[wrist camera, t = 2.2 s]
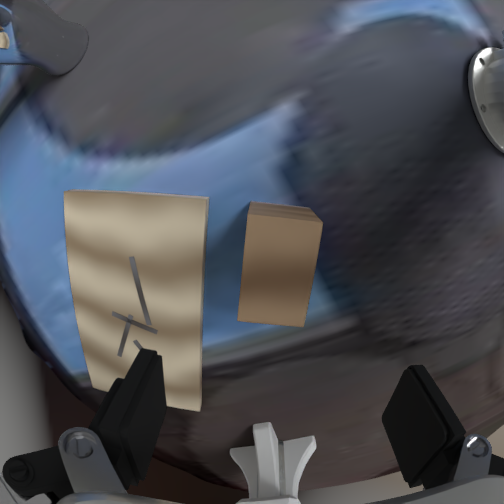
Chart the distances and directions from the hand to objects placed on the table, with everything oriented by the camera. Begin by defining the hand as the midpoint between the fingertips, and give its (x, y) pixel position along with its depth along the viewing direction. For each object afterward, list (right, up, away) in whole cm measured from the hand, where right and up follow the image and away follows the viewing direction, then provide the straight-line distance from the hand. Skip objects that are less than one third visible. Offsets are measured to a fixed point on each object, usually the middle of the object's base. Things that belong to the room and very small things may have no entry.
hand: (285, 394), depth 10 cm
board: (-13, -1, +19) cm, 23 cm away
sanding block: (+1, +5, +16) cm, 17 cm away
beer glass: (-20, +26, +10) cm, 34 cm away
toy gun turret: (+2, -22, +25) cm, 34 cm away
